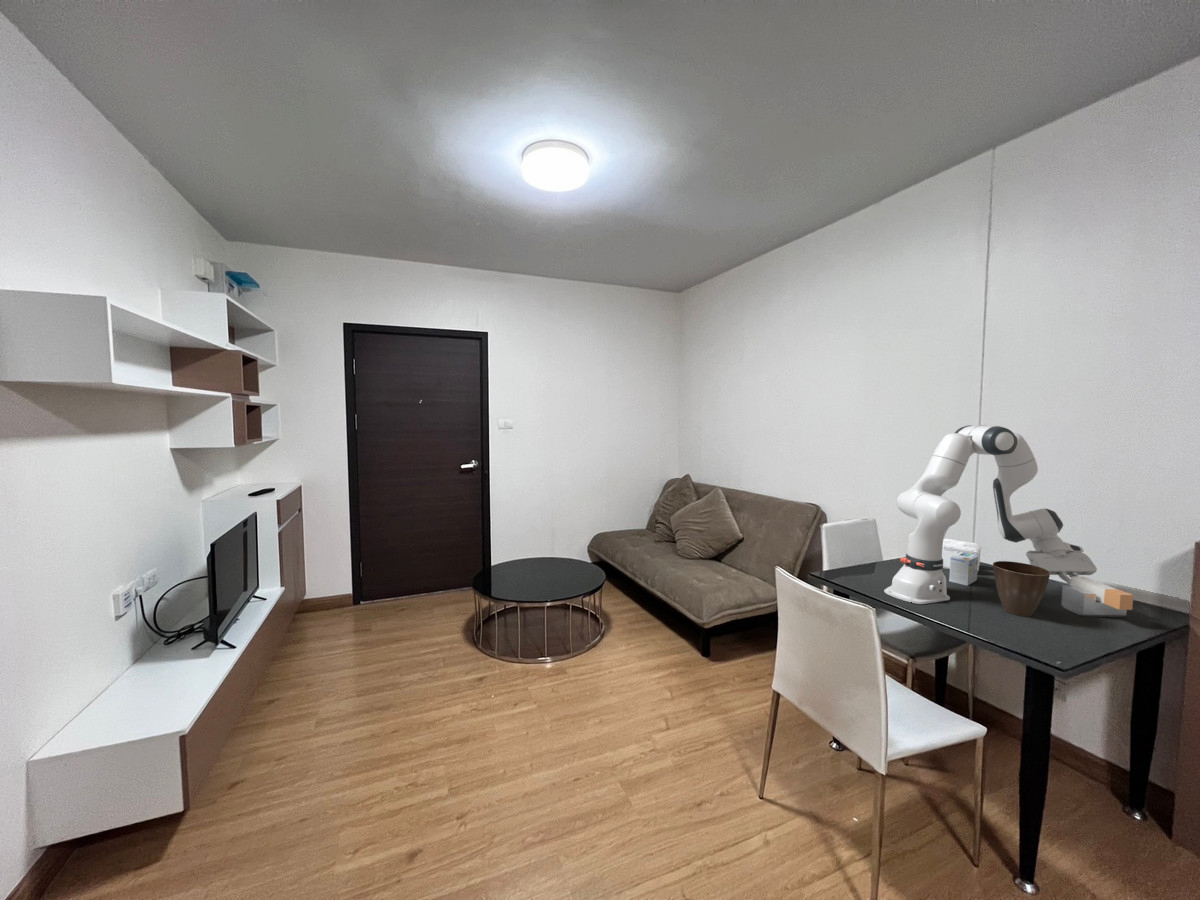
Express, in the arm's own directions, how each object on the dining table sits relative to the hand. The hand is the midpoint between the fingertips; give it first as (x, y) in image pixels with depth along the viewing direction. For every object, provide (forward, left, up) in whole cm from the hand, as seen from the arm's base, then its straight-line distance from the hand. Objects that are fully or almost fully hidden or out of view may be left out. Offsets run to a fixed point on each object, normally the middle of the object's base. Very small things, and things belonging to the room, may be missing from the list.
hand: (1074, 585), depth 171 cm
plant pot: (-27, +6, -7) cm, 28 cm away
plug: (-5, -8, -2) cm, 9 cm away
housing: (-4, -6, -7) cm, 10 cm away
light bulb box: (-10, +31, -7) cm, 33 cm away
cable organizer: (+5, +40, -7) cm, 41 cm away
